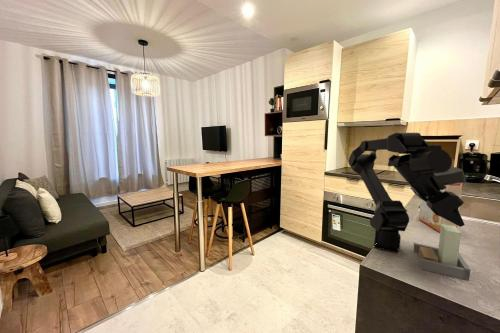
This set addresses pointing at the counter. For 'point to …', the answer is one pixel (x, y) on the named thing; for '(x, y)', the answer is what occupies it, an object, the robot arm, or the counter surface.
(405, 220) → the robot arm
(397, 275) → the counter surface
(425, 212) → the cracker box
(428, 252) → the walnut offcuts
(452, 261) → the sage board
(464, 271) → the frame
